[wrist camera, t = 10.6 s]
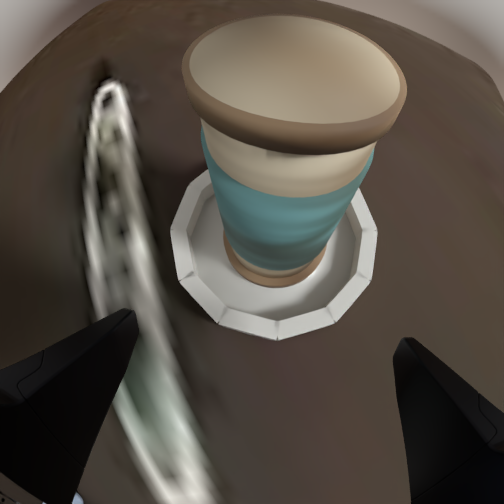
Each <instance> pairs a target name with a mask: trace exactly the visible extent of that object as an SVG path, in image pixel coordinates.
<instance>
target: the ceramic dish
mask: <svg viewBox="0 0 504 504" xmlns="http://www.w3.org/2000/svg"><path fill="white" fill-rule="evenodd" d="M170 229H171V230H170V233H171V240H172V246H173V252H174V258H175V264H176V270H177V276H178V280H179V281H180V283H181V284H182V286H183V287H184V288H185V289H186V290H187V291H188V292H189V293H190V295H191V296H192V297H193V298H194V299H195V300H196V301H197V302H198V303H199V304H200V306H201V307H202V308H203V309H204V310H205V311H206V312H207V313H208V314H209V315H210V316H211V317H212V318H213V320H214V321H215V322H216V323H217V324H219V325H221V326H222V327H225V328H229V329H232V330H236V331H239V332H242V333H245V334H248V335H252V336H257V337H261V338H265V339H269V340H273V341H276V340H277V341H279V340H282V339H286V338H290V337H293V336H297V335H301V334H304V333H307V332H310V331H313V330H317V329H320V328H323V327H326V326H329V325H332V324H334V323H336V322H337V321H338V320H339V319H340V317H341V316H342V315H343V314H344V313H345V312H346V311H347V309H348V308H349V307H350V306H351V305H352V304H353V302H354V301H355V300H356V299H357V298H358V296H359V295H360V294H361V293H362V292H363V290H364V289H365V288H366V287H367V286H368V284H369V283H370V281H371V279H372V272H373V265H374V257H375V249H376V241H377V228H376V226H375V223H374V221H373V219H372V216H371V214H370V212H369V209H368V207H367V205H366V203H365V200H364V198H363V196H362V194H361V192H360V189H359V188H358V190H357V191H356V193H355V195H354V197H353V199H352V200H351V202H350V204H349V206H348V208H347V209H346V211H345V213H344V215H343V216H342V218H341V220H340V222H339V223H338V225H337V227H336V229H335V230H334V232H333V234H332V235H331V237H330V239H329V241H328V242H327V247H326V251H325V254H324V256H323V258H322V260H321V262H320V264H319V265H318V266H317V268H316V269H315V271H314V272H313V273H312V274H311V275H310V276H309V277H307V278H306V279H305V280H303V281H301V282H300V283H297V284H295V285H293V286H289V287H284V288H267V287H262V286H259V285H256V284H254V283H252V282H250V281H248V280H246V279H245V278H244V277H242V276H241V275H240V274H239V273H238V272H237V271H236V270H235V269H234V267H233V266H232V264H231V263H230V261H229V259H228V256H227V254H226V250H225V247H224V241H223V230H224V227H223V223H222V220H221V216H220V212H219V208H218V205H217V201H216V197H215V193H214V189H213V186H212V182H211V178H210V174H209V170H208V169H207V170H206V171H205V172H204V173H202V174H201V175H200V176H198V177H197V178H196V179H195V180H193V181H192V182H191V183H190V185H188V187H187V190H186V192H185V194H184V197H183V199H182V201H181V204H180V206H179V208H178V211H177V213H176V216H175V218H174V220H173V223H172V225H171V228H170Z"/></svg>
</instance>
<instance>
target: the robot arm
mask: <svg viewBox="0 0 504 504" xmlns="http://www.w3.org/2000/svg"><path fill="white" fill-rule="evenodd" d="M138 334H139V328H138V323H137V318H136V313H135V311H134V310H131V309H126V308H123V309H121V310H119V311H117V312H115V313H113V314H111V315H109V316H107V317H105V318H103V319H101V320H99V321H97V322H96V323H94V324H92V325H90V326H88V327H86V328H84V329H82V330H80V331H78V332H76V333H74V334H73V335H71V336H69V337H67V338H65V339H63V340H61V341H59V342H57V343H55V344H53V345H52V346H50V347H48V348H46V349H45V350H42V351H40V352H38V353H36V354H34V355H32V356H30V357H28V358H26V359H24V360H22V361H20V362H18V363H15V364H13V365H11V366H8V367H6V368H4V369H1V370H0V504H42V503H43V502H44V503H46V504H72V502H73V500H74V497H75V494H76V491H77V488H78V485H79V483H80V480H81V477H82V475H83V472H84V468H85V466H86V464H87V461H88V458H89V456H90V453H91V451H92V448H93V446H94V443H95V441H96V438H97V436H98V433H99V431H100V429H101V426H102V424H103V422H104V419H105V417H106V415H107V412H108V410H109V408H110V405H111V403H112V401H113V399H114V396H115V394H116V392H117V390H118V387H119V385H120V383H121V381H122V379H123V377H124V374H125V372H126V369H127V367H128V364H129V361H130V358H131V355H132V352H133V349H134V346H135V343H136V340H137V337H138ZM393 367H394V376H395V386H396V396H397V402H398V408H399V413H400V418H401V424H402V430H403V436H404V443H405V449H406V457H407V465H408V473H409V483H410V494H411V504H504V413H503V412H502V411H500V410H499V409H498V408H497V407H495V406H494V405H493V404H492V403H490V402H489V401H488V400H487V399H486V398H485V397H483V396H482V395H481V394H480V393H478V391H477V390H475V389H474V388H473V387H472V386H471V385H470V384H468V383H467V382H466V381H465V380H464V379H463V378H461V377H460V376H459V375H458V374H457V373H455V372H454V371H453V370H452V369H451V368H450V367H448V366H447V365H446V364H445V363H444V362H442V361H441V360H440V359H439V358H438V357H436V356H435V355H434V354H433V353H432V352H430V351H429V350H428V349H427V348H425V347H424V346H423V345H422V344H421V343H419V342H418V341H417V340H416V339H414V338H412V337H404V338H402V339H401V341H400V343H399V345H398V347H397V349H396V351H395V353H394V356H393Z"/></svg>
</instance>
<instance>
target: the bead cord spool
mask: <svg viewBox="0 0 504 504" xmlns="http://www.w3.org/2000/svg"><path fill="white" fill-rule="evenodd" d="M182 73H183V78H184V82H185V86H186V90H187V94H188V98H189V101H190V103H191V105H192V107H193V109H194V110H195V111H196V113H197V114H198V115H199V116H200V117H201V122H202V128H201V142H202V147H203V151H204V155H205V159H206V162H207V166H208V170H209V174H210V178H211V182H212V186H213V189H214V193H215V197H216V201H217V205H218V208H219V212H220V216H221V220H222V223H223V227H224V230H223V241H224V247H225V250H226V254H227V256H228V259H229V261H230V263H231V264H232V266H233V267H234V269H235V270H236V271H237V272H238V273H239V274H240V275H241V276H242V277H244V278H245V279H246V280H248V281H250V282H252V283H254V284H256V285H259V286H262V287H267V288H284V287H289V286H293V285H295V284H297V283H300V282H301V281H303V280H305V279H306V278H307V277H309V276H310V275H311V274H312V273H313V272H314V271H315V269H316V268H317V266H318V265H319V264H320V262H321V260H322V258H323V256H324V254H325V251H326V247H327V242H328V241H329V239H330V237H331V235H332V234H333V232H334V230H335V229H336V227H337V225H338V223H339V222H340V220H341V218H342V216H343V215H344V213H345V211H346V209H347V208H348V206H349V204H350V202H351V200H352V199H353V197H354V195H355V193H356V191H357V190H358V188H359V186H360V184H361V182H362V180H363V179H364V177H365V175H366V173H367V171H368V169H369V167H370V165H371V162H372V159H373V154H374V147H375V145H376V143H377V141H378V140H379V139H381V138H382V137H383V136H384V135H385V134H386V133H387V132H388V131H389V130H390V129H391V127H392V126H393V124H394V122H395V120H396V118H397V116H398V114H399V112H400V110H401V108H402V106H403V104H404V102H405V98H406V95H407V85H406V81H405V78H404V75H403V73H402V71H401V69H400V68H399V66H398V64H397V63H396V62H395V61H394V59H393V58H392V57H391V56H390V55H389V54H388V53H387V52H386V51H385V50H384V49H382V48H381V47H380V46H379V45H377V44H376V43H375V42H373V41H372V40H370V39H369V38H367V37H365V36H364V35H362V34H360V33H358V32H356V31H354V30H352V29H350V28H347V27H345V26H342V25H339V24H337V23H334V22H330V21H327V20H323V19H319V18H314V17H309V16H302V15H293V14H264V15H255V16H249V17H244V18H239V19H235V20H232V21H229V22H226V23H223V24H221V25H218V26H216V27H214V28H212V29H210V30H208V31H207V32H205V33H204V34H202V35H201V36H200V37H198V38H197V39H196V40H195V41H194V42H193V43H192V44H191V45H190V46H189V48H188V49H187V51H186V53H185V54H184V57H183V60H182Z"/></svg>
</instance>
